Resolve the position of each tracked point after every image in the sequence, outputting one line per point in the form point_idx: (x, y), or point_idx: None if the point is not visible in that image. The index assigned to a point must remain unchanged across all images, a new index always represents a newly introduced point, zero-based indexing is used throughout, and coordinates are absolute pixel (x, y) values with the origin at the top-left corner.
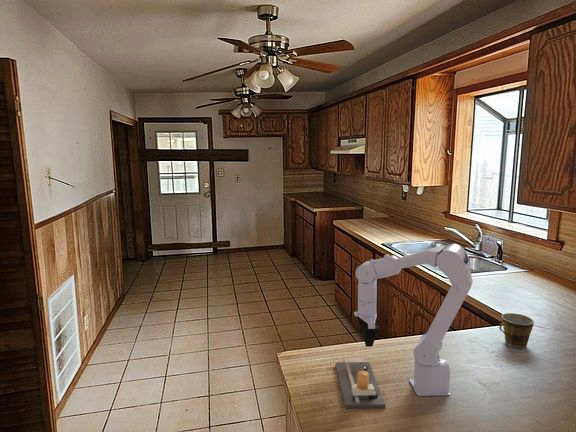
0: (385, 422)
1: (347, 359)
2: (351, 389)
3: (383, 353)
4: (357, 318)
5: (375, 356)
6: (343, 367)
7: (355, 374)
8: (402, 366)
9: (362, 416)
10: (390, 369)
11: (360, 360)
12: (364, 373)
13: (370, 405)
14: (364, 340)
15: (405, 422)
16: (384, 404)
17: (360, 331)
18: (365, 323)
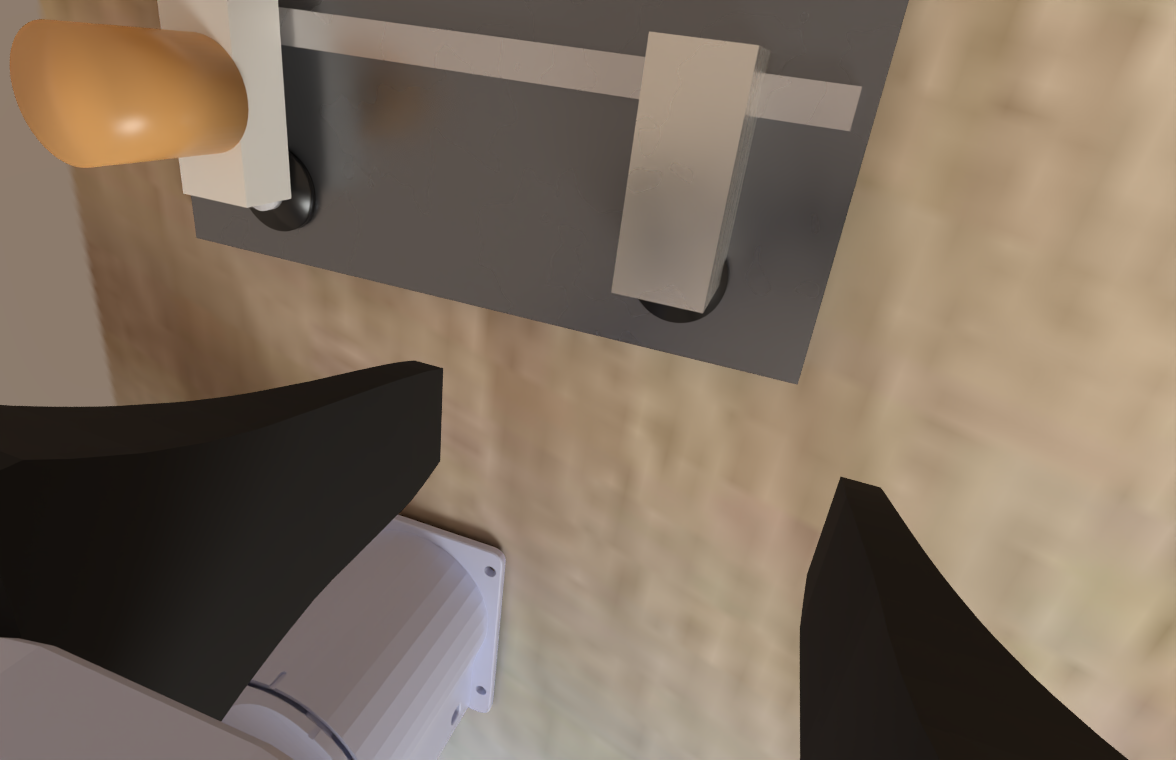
0: (104, 169)
1: (716, 85)
2: (350, 9)
3: (985, 613)
4: (920, 733)
5: (957, 515)
6: (763, 35)
7: (589, 142)
8: (701, 620)
9: (129, 21)
10: (679, 514)
11: (654, 258)
12: (65, 115)
13: None
14: (379, 384)
15: (125, 292)
16: (196, 230)
17: (847, 506)
18: (827, 758)
